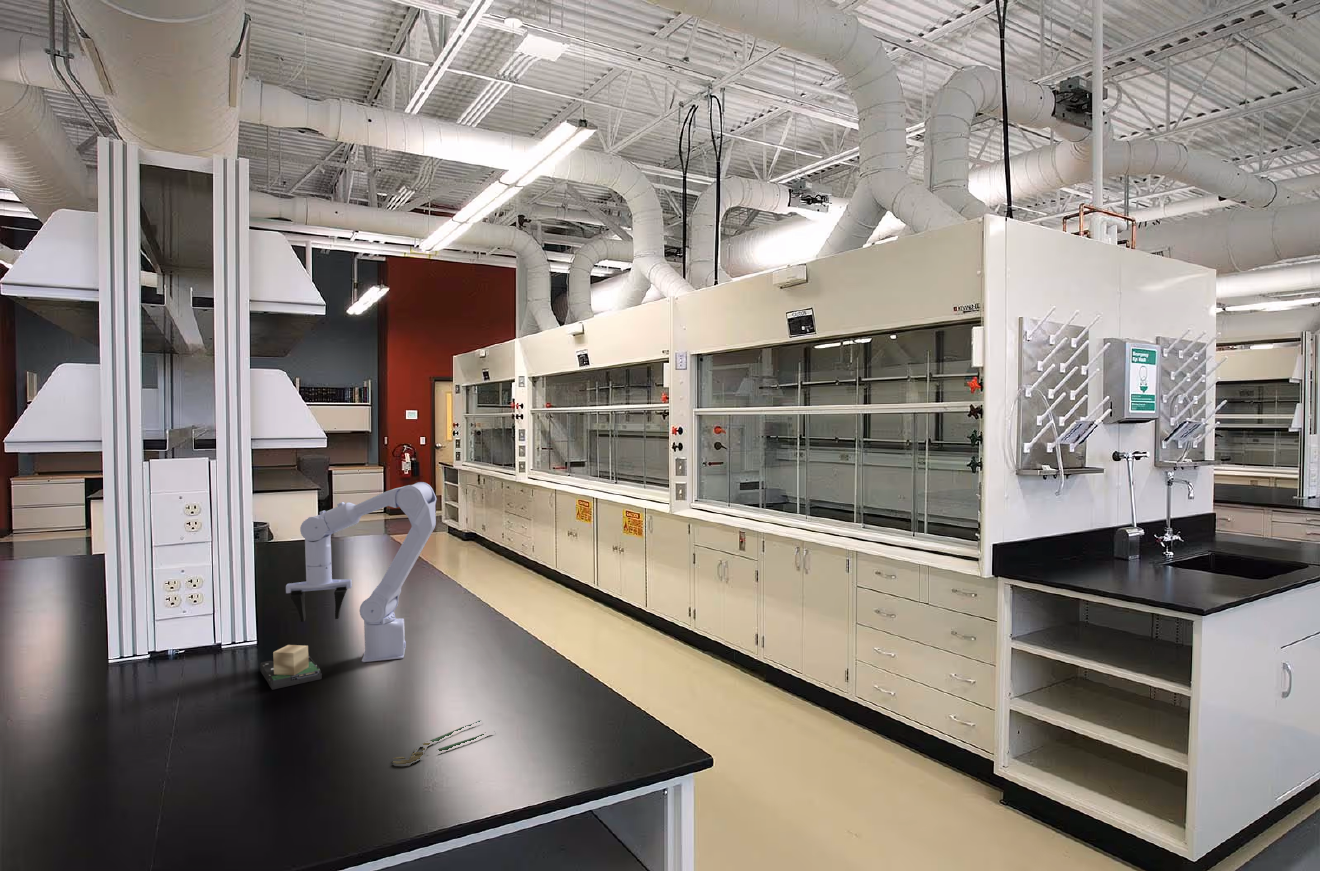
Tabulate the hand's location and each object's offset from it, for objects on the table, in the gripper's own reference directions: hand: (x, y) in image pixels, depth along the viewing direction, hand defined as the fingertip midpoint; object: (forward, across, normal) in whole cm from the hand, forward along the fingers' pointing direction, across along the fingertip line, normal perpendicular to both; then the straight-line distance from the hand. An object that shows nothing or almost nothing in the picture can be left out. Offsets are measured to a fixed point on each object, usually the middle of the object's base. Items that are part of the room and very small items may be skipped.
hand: (320, 619), depth 177 cm
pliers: (+10, -29, +58) cm, 66 cm away
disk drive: (+10, +5, +11) cm, 16 cm away
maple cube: (+8, +4, +14) cm, 16 cm away
